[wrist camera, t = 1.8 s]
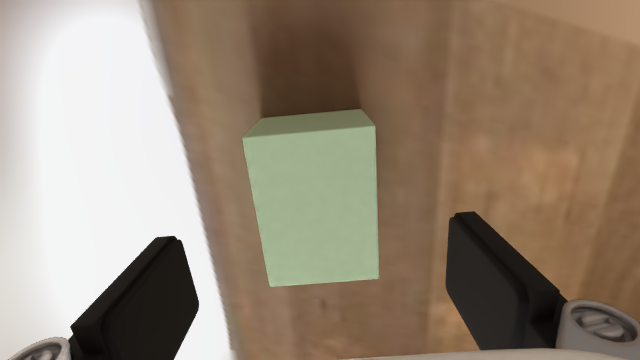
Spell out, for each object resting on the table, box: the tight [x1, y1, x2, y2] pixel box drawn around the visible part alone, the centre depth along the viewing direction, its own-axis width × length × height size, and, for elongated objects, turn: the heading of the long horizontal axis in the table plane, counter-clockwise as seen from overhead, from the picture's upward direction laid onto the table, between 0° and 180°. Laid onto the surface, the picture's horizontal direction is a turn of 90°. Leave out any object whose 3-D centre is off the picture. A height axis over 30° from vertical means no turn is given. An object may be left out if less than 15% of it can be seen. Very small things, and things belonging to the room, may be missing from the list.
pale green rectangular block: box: [242, 109, 379, 287], centre depth 15 cm, size 7×5×4 cm
